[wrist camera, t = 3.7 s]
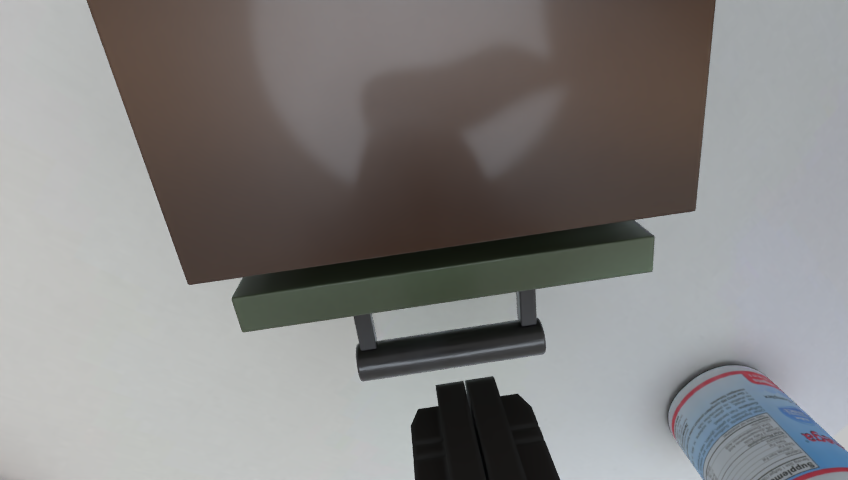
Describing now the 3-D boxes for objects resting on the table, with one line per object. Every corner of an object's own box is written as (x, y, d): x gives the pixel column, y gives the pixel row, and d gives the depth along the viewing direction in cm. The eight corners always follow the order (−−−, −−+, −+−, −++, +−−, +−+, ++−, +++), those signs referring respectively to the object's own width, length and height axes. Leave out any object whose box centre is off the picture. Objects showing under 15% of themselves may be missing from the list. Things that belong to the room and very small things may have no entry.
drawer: (568, 281, 24) (645, 390, 17) (309, 319, 24) (278, 446, 17) (561, -269, 16) (702, -497, 9) (171, -219, 16) (0, -413, 9)
